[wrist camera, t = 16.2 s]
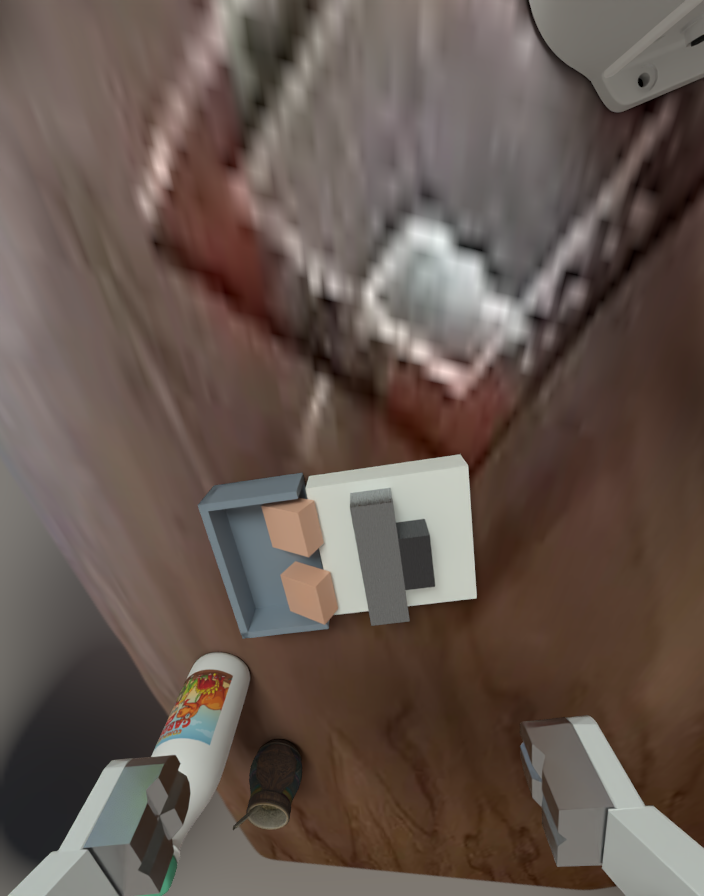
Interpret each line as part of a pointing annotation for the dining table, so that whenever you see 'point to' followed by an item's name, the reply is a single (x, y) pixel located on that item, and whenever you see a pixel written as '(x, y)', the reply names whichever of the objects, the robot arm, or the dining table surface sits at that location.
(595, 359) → the dining table surface
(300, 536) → the tile front
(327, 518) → the board
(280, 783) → the mate gourd
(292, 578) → the tile back
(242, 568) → the tray
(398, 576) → the two-tone stepped block
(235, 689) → the milk bottle
